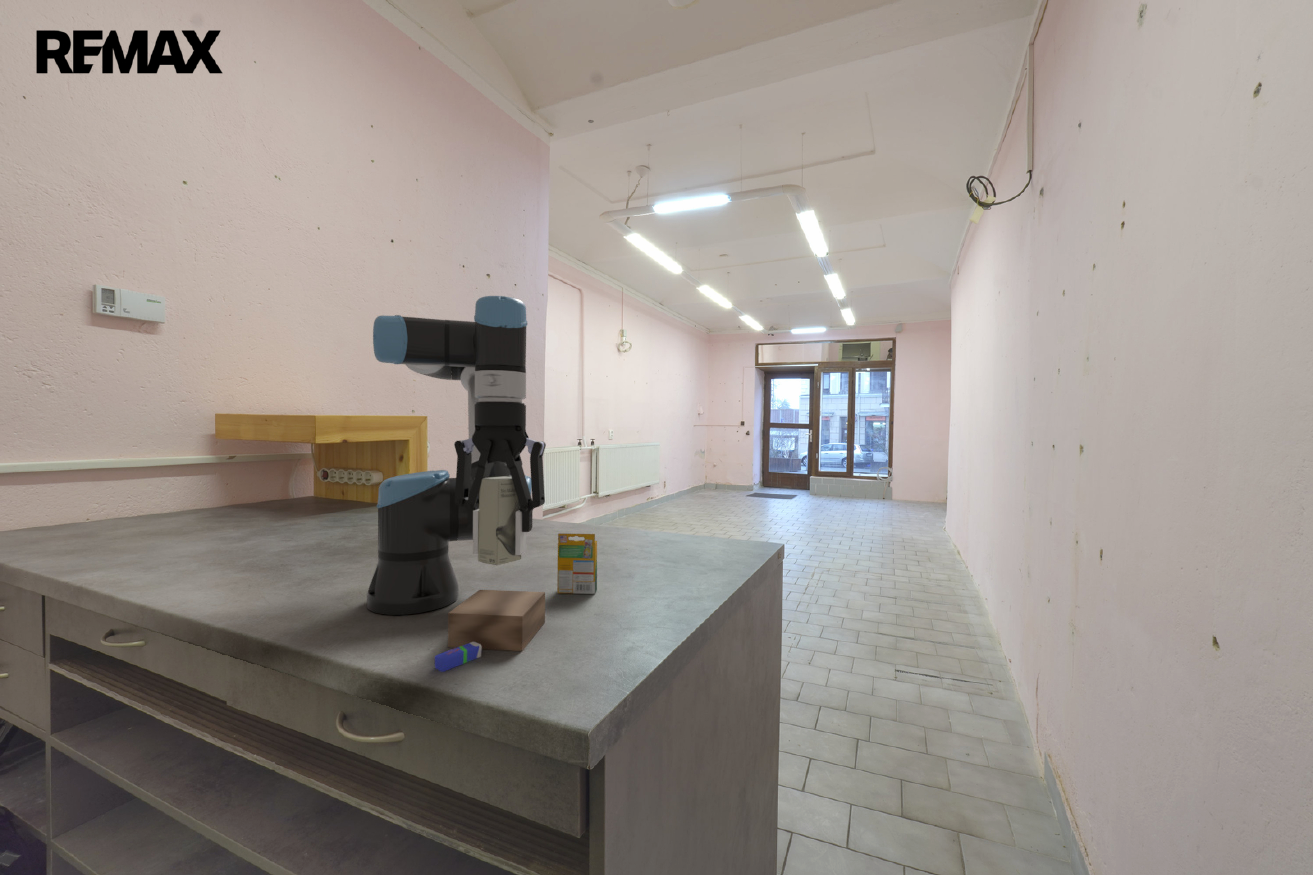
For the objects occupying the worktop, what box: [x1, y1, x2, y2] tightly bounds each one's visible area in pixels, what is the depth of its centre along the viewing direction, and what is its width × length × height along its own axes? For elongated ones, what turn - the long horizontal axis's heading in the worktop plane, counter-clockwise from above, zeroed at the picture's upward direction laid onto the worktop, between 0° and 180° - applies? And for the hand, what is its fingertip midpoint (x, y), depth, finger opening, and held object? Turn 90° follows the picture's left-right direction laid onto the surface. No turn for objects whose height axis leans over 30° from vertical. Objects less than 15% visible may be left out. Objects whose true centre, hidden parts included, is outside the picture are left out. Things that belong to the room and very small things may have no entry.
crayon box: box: [556, 532, 598, 595], centre depth 103 cm, size 7×3×12 cm, turn 88°
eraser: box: [434, 642, 483, 673], centre depth 73 cm, size 2×6×2 cm, turn 144°
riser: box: [447, 589, 546, 652], centre depth 82 cm, size 11×11×5 cm
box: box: [477, 476, 522, 566], centre depth 82 cm, size 5×4×13 cm
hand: (499, 552), depth 82 cm, fingers closed on box, 6 cm apart
